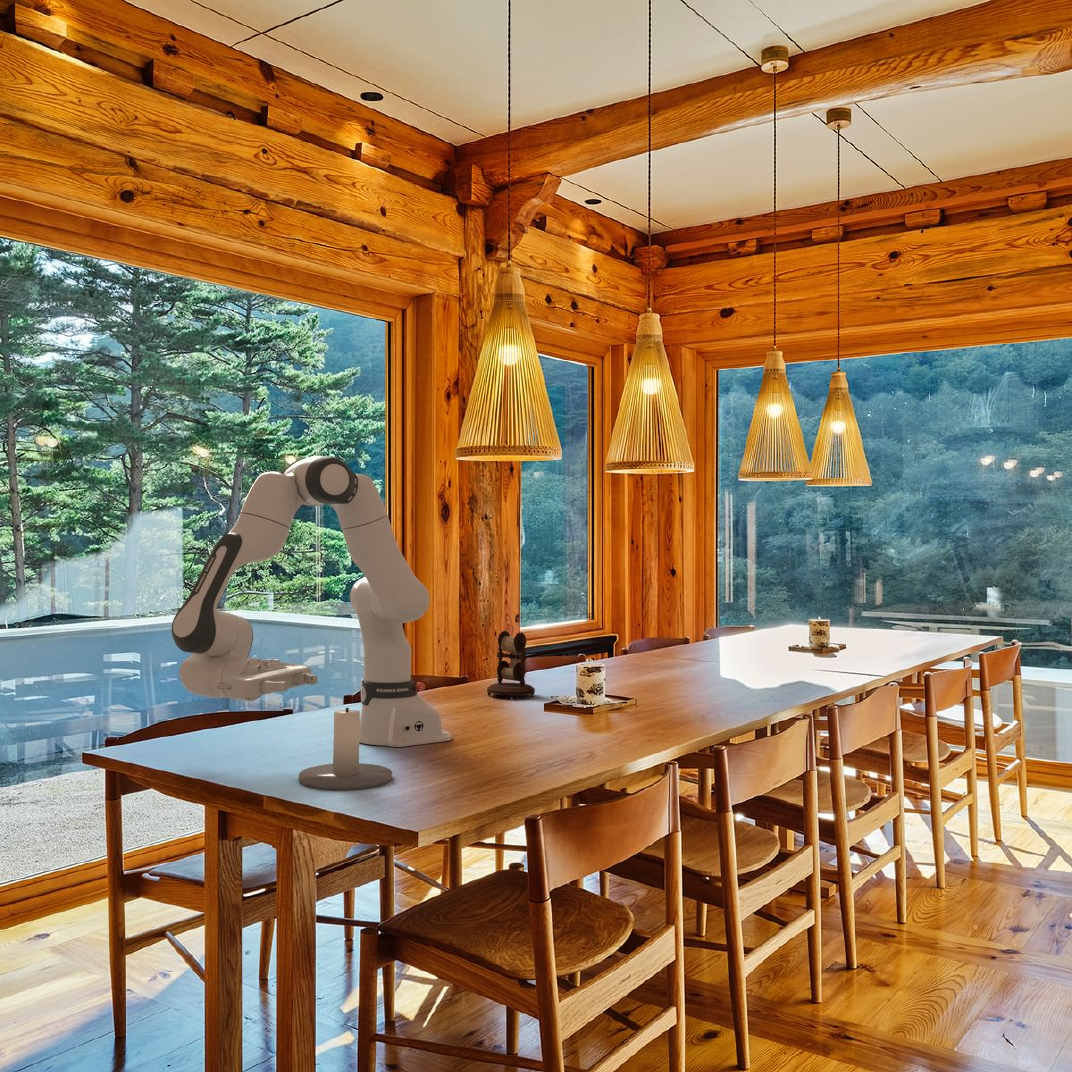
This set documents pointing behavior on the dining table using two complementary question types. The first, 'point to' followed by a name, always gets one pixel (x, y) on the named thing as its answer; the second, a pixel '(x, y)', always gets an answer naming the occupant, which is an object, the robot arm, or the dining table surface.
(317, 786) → the plate
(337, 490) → the robot arm
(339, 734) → the candle
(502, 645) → the double spool stand
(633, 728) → the dining table surface
